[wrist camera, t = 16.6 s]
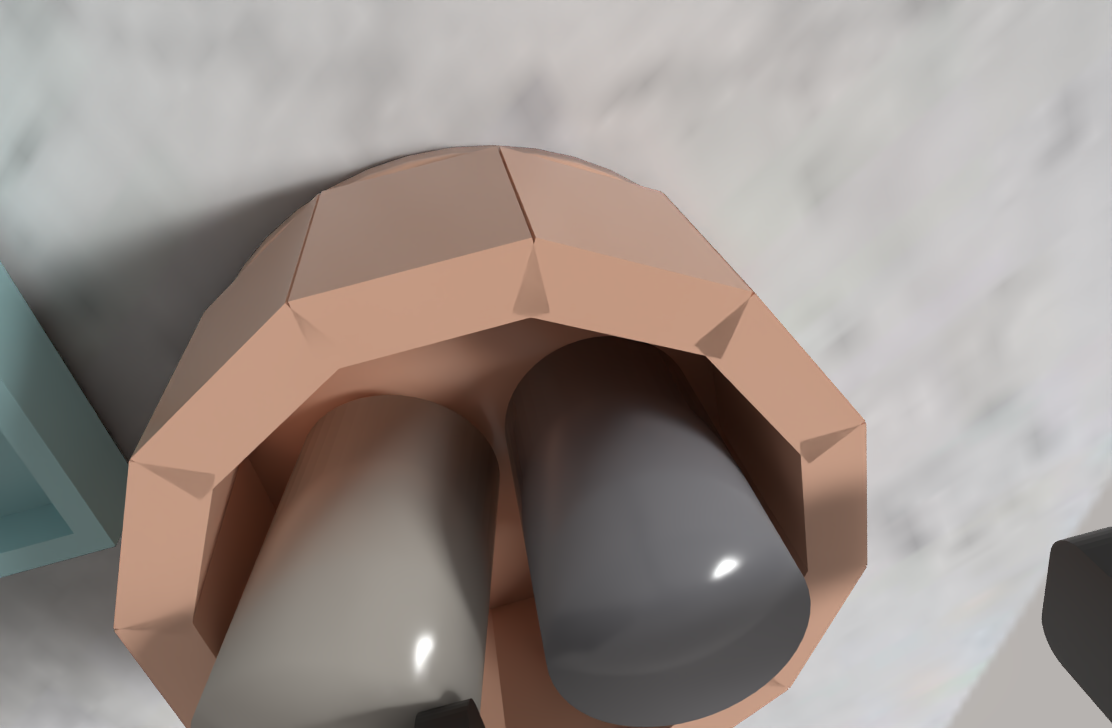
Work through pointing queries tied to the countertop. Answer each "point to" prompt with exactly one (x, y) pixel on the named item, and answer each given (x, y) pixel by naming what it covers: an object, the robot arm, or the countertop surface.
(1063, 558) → the robot arm
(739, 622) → the grey rounded cylinder
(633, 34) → the countertop surface
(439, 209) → the bowl
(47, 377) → the tray
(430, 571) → the beige rounded cylinder
